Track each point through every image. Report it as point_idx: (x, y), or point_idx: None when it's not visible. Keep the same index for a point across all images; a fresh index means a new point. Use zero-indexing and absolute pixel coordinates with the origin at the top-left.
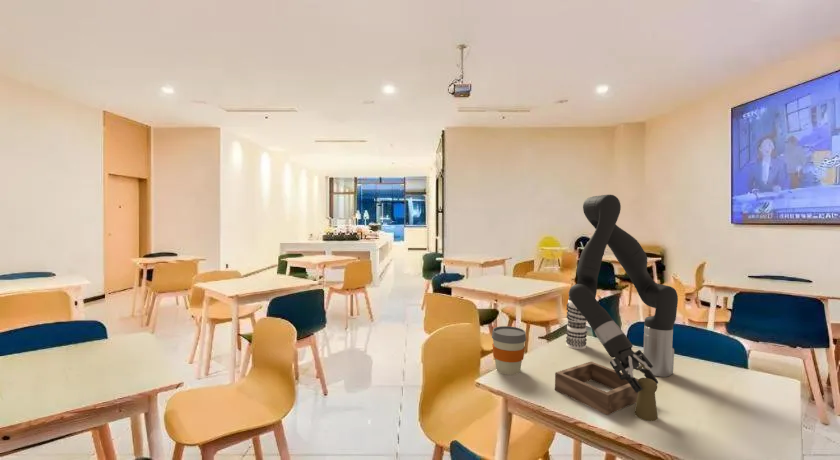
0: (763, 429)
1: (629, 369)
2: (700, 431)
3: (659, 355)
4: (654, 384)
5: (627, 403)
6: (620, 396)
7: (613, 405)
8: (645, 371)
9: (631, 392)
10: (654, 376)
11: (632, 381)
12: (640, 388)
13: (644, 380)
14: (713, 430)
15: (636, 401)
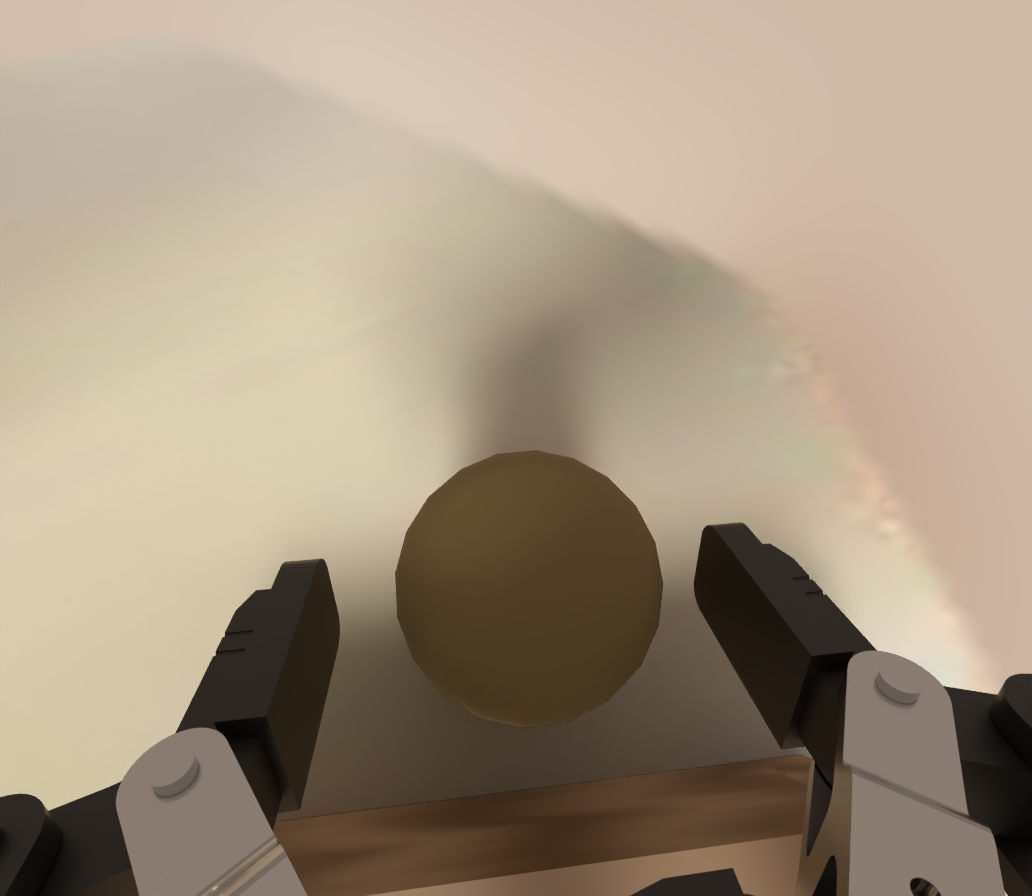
0: (3, 162)
1: (964, 813)
2: (374, 309)
3: None
4: (537, 454)
5: (505, 801)
6: (657, 822)
7: (751, 782)
8: (262, 809)
9: (432, 849)
10: (219, 650)
11: (853, 631)
12: (747, 528)
13: (609, 575)
14: (286, 281)
15: (346, 815)
